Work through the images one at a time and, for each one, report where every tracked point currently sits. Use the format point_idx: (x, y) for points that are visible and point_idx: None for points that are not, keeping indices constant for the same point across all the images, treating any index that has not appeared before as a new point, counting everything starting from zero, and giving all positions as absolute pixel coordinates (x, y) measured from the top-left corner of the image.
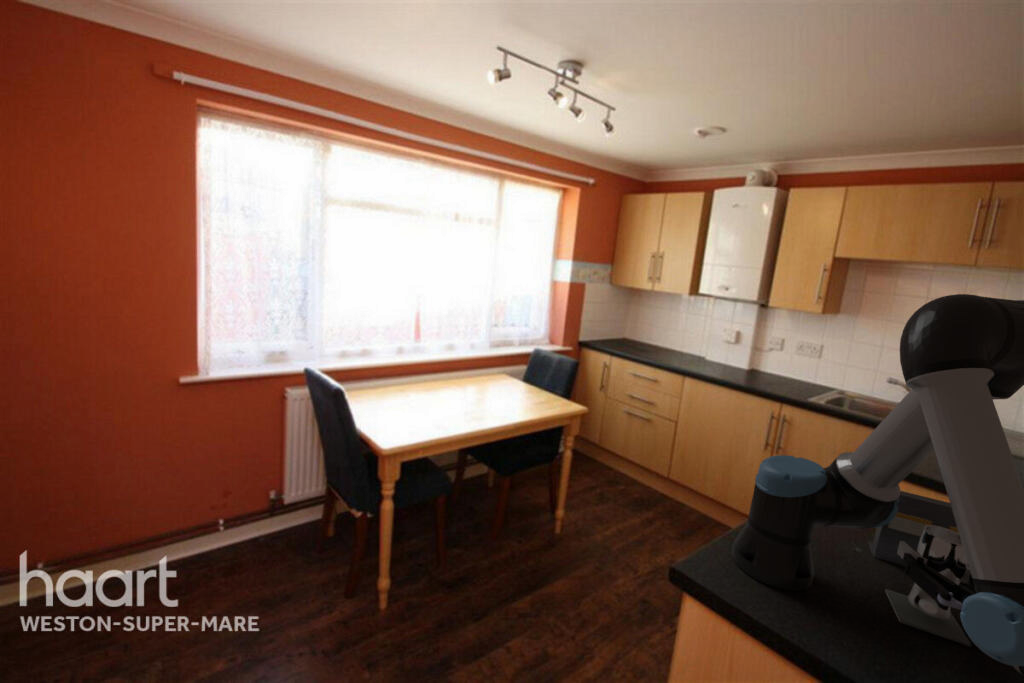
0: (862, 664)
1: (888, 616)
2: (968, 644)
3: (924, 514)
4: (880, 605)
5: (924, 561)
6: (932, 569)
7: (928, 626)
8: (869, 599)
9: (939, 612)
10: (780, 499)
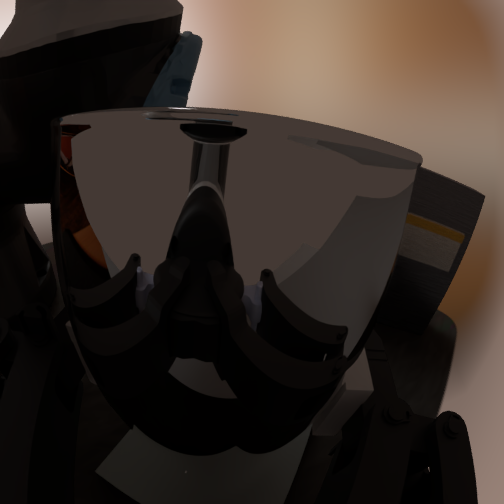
0: None
1: (87, 451)
2: None
3: None
4: (106, 417)
5: None
6: (28, 397)
7: (167, 502)
8: (98, 396)
9: (197, 491)
10: None
